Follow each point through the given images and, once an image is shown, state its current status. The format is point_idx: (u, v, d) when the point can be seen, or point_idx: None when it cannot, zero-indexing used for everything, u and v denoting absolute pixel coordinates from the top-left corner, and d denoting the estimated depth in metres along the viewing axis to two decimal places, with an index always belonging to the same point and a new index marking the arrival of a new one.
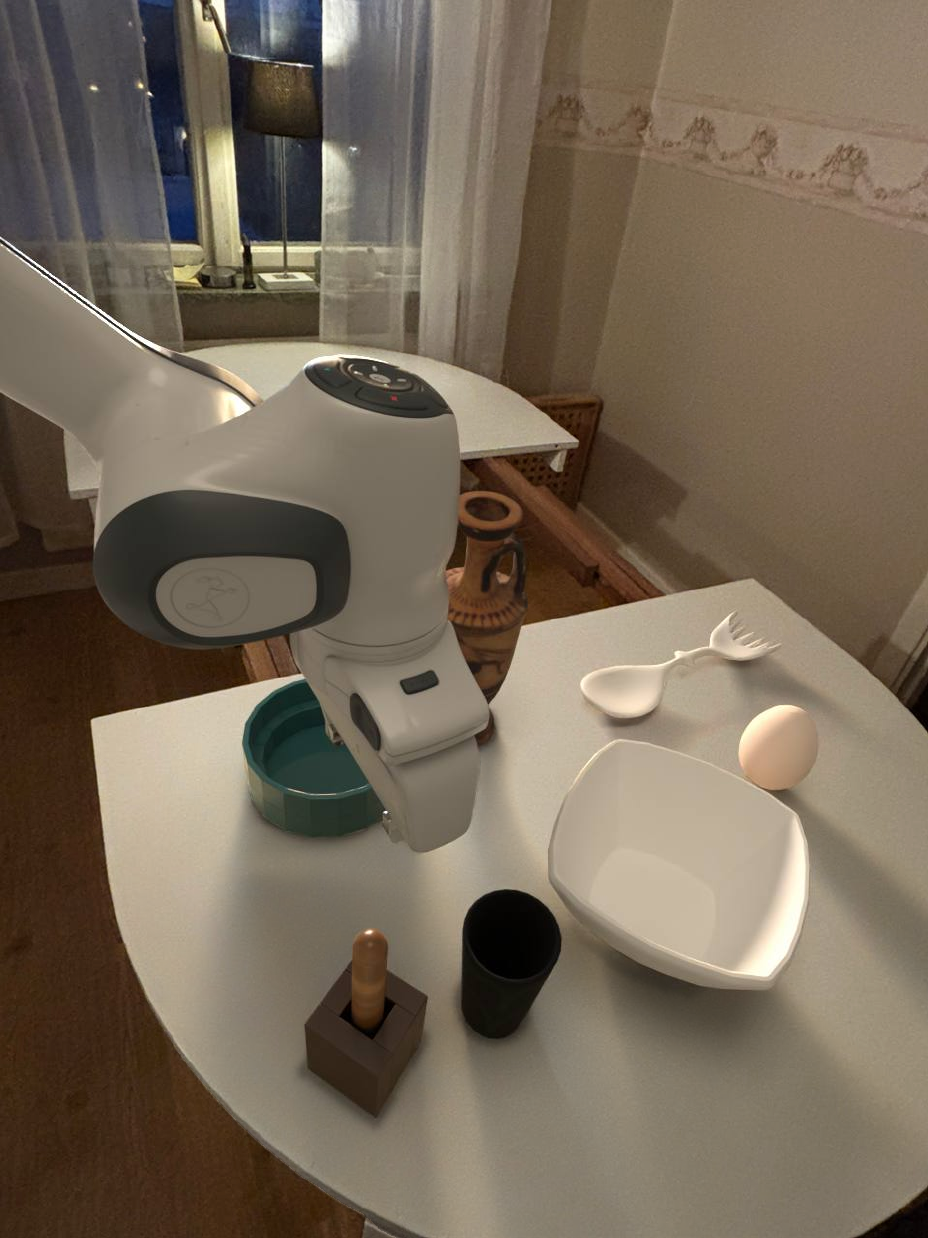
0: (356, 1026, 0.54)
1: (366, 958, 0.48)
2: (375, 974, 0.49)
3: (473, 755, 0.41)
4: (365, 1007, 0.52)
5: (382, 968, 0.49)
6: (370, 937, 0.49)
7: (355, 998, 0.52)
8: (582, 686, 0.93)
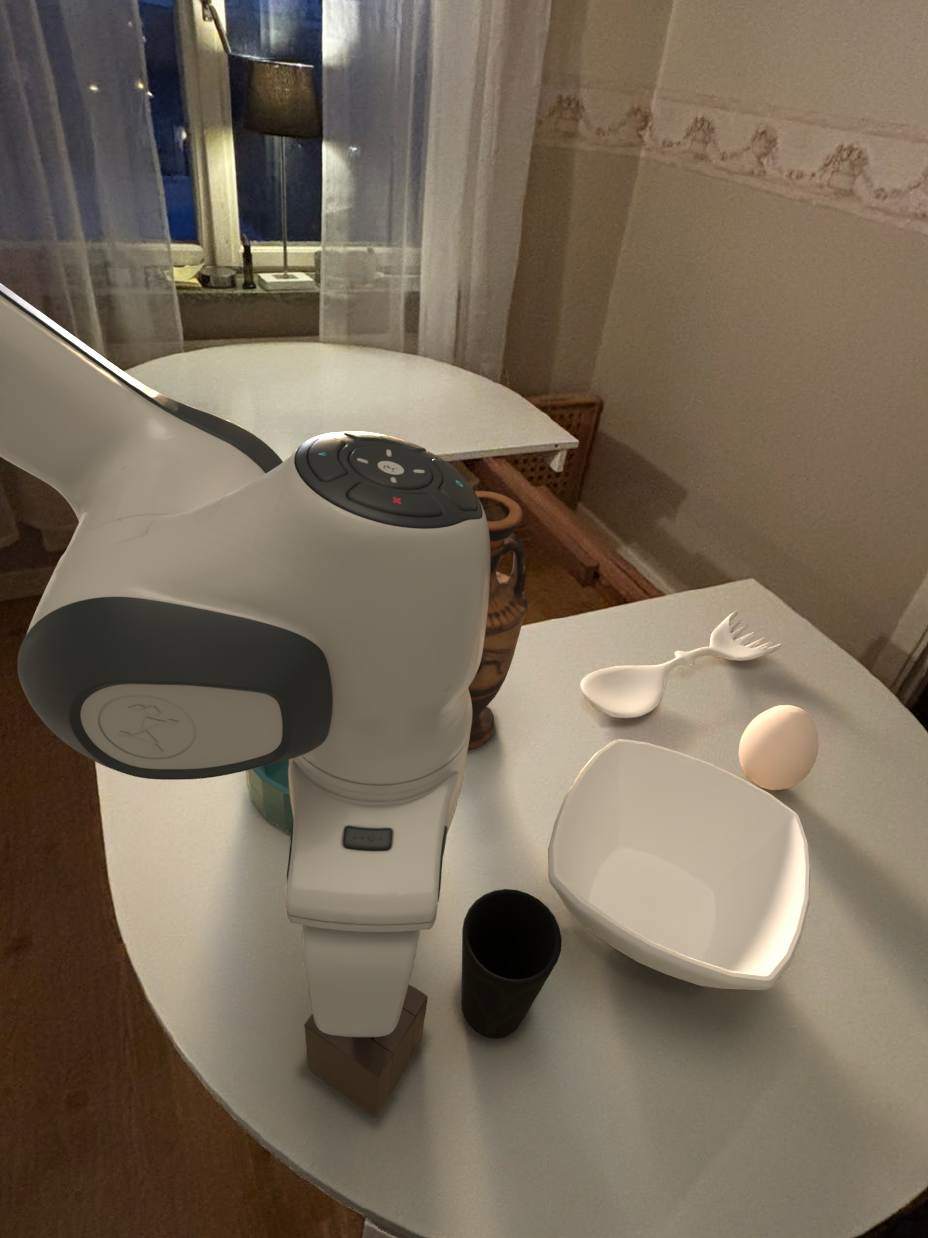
0: None
1: None
2: None
3: (404, 954, 0.32)
4: None
5: None
6: None
7: None
8: (582, 686, 0.93)
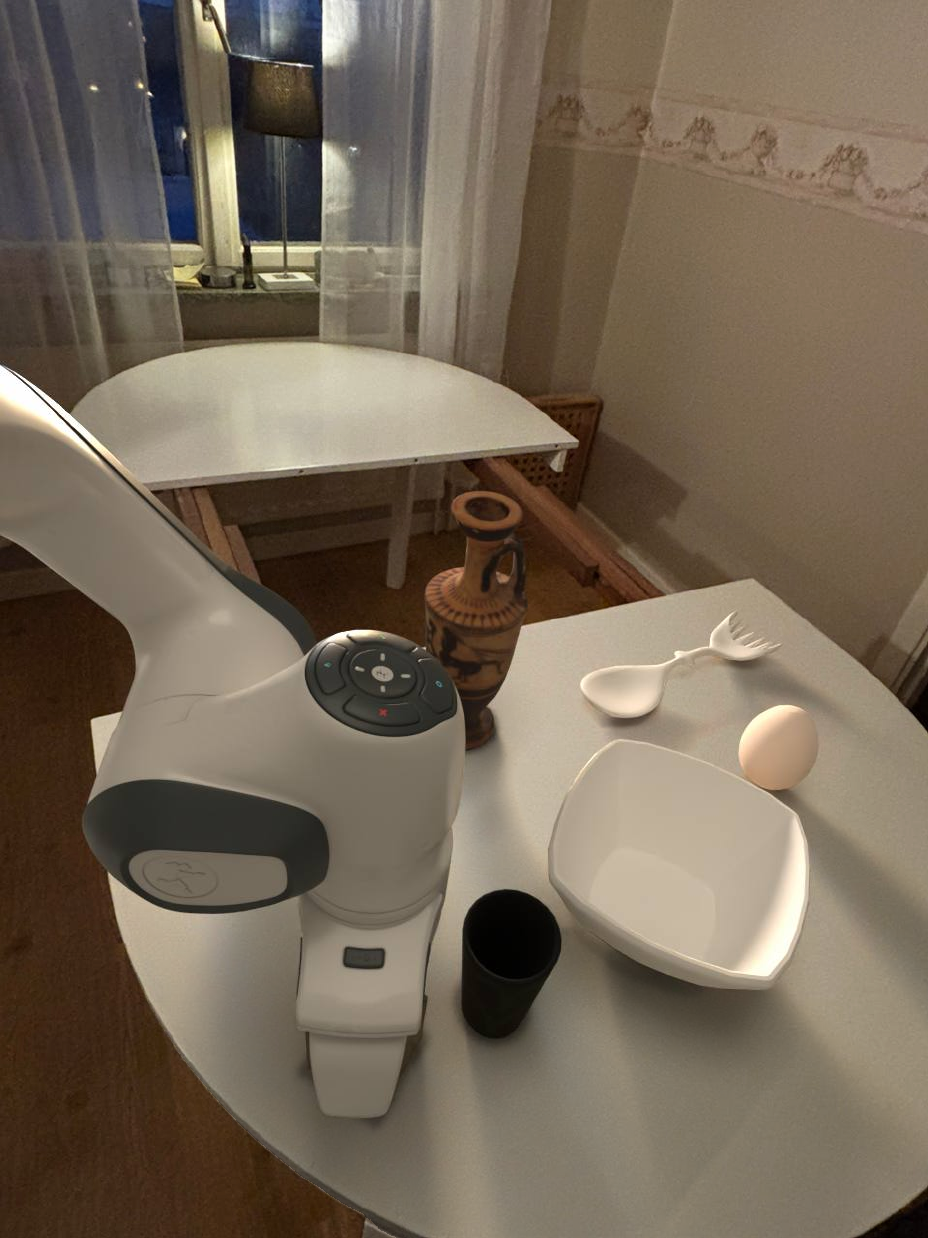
0: None
1: None
2: None
3: (394, 1055, 0.38)
4: None
5: None
6: None
7: None
8: (582, 686, 0.93)
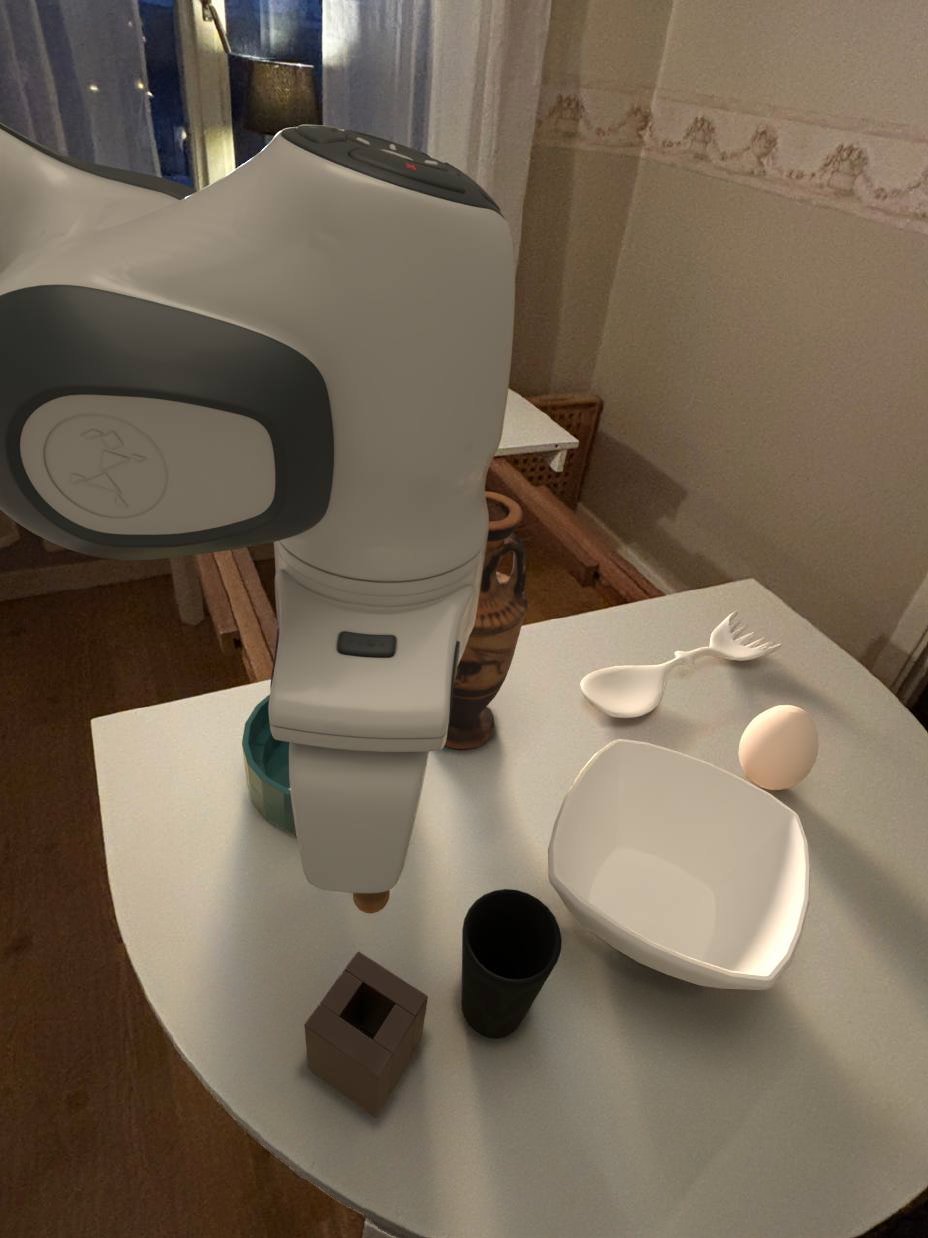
0: None
1: None
2: None
3: (408, 781, 0.27)
4: None
5: None
6: None
7: None
8: (582, 686, 0.93)
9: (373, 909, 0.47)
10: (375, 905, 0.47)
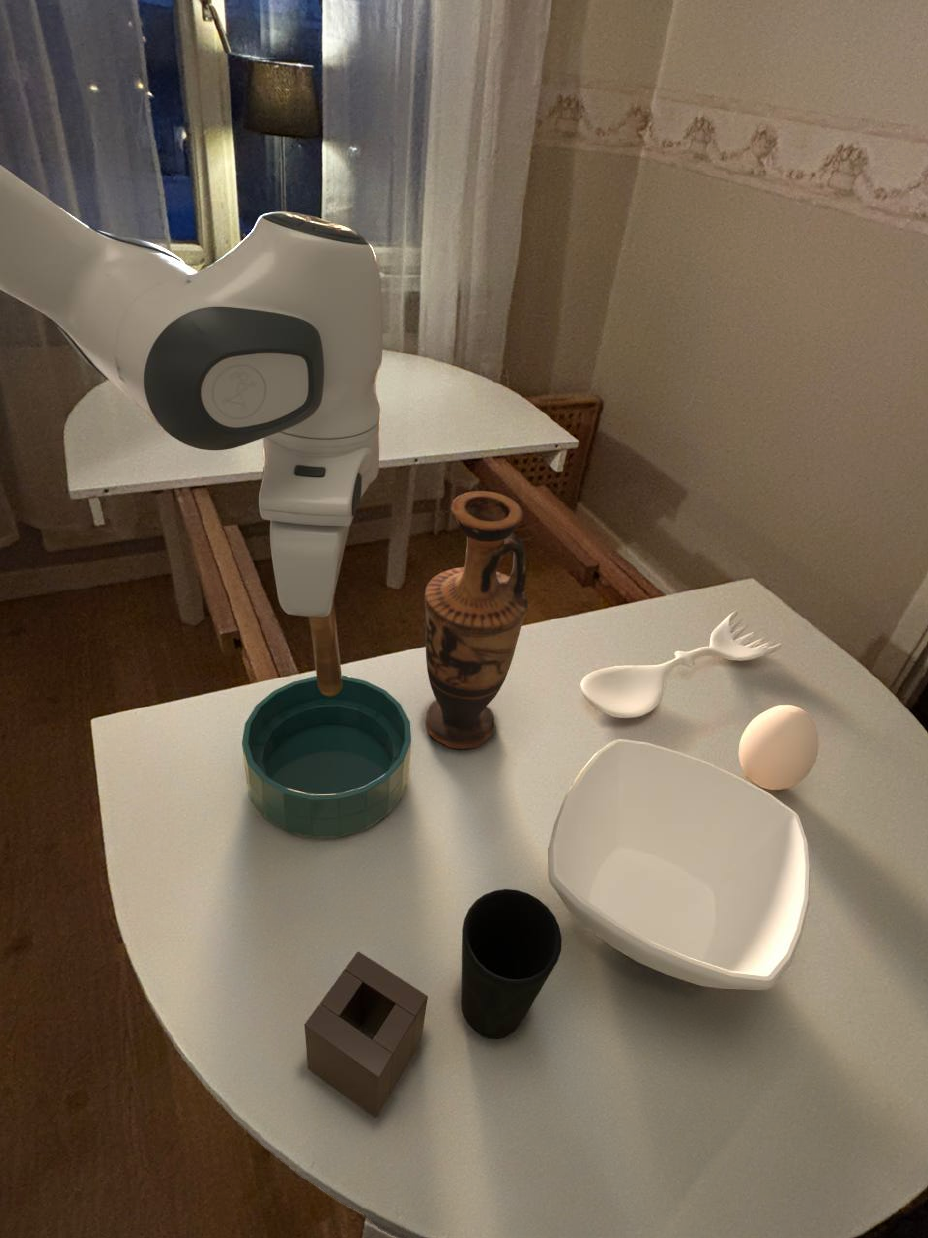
0: (315, 642, 0.68)
1: None
2: None
3: (332, 542, 0.52)
4: None
5: None
6: None
7: None
8: (582, 686, 0.93)
9: (331, 691, 0.72)
10: (332, 688, 0.72)
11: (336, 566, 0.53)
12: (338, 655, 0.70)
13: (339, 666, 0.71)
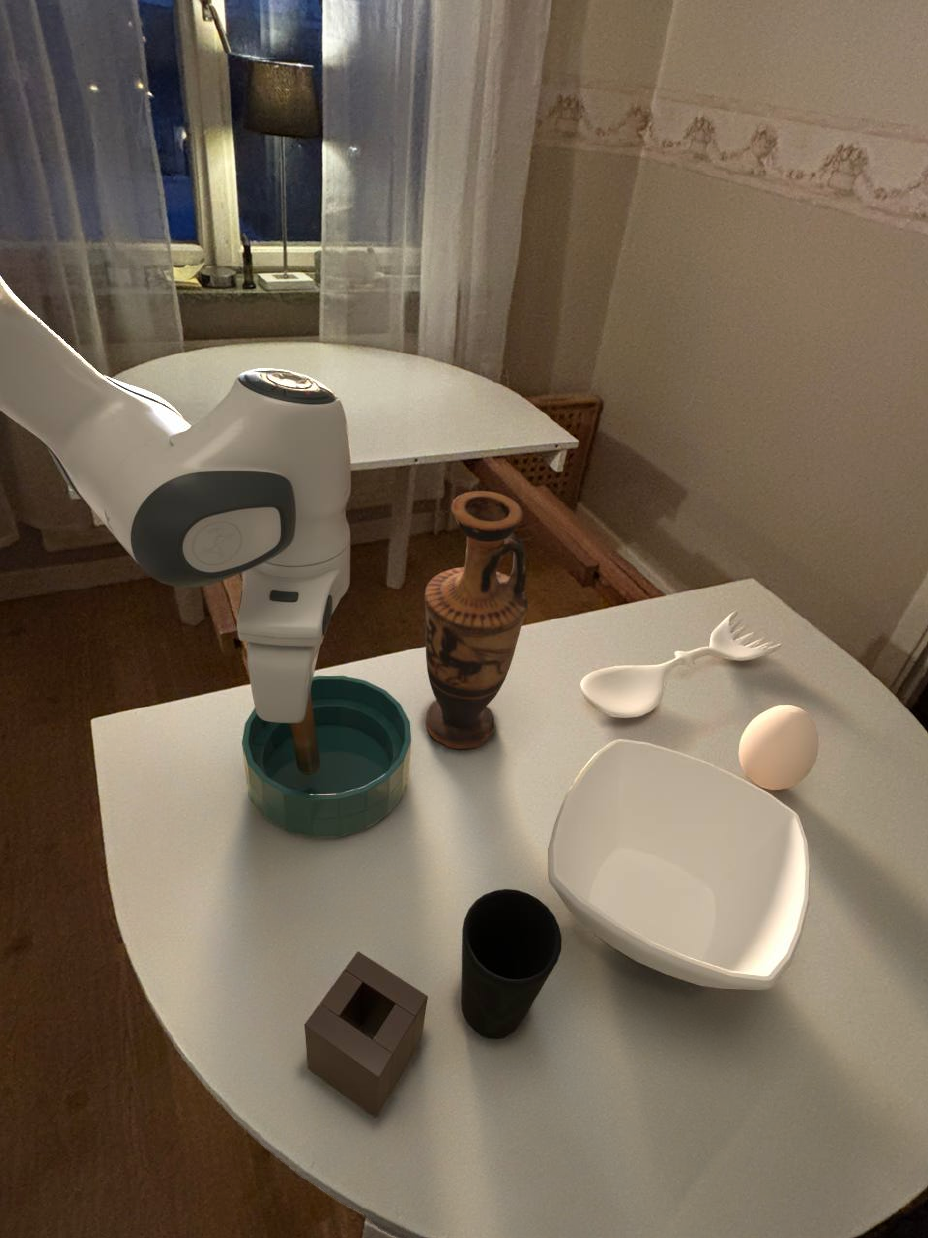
0: (293, 729, 0.73)
1: None
2: None
3: (304, 661, 0.57)
4: None
5: None
6: None
7: None
8: (582, 686, 0.93)
9: (309, 771, 0.77)
10: (310, 768, 0.76)
11: (308, 681, 0.58)
12: (315, 739, 0.75)
13: (316, 748, 0.76)
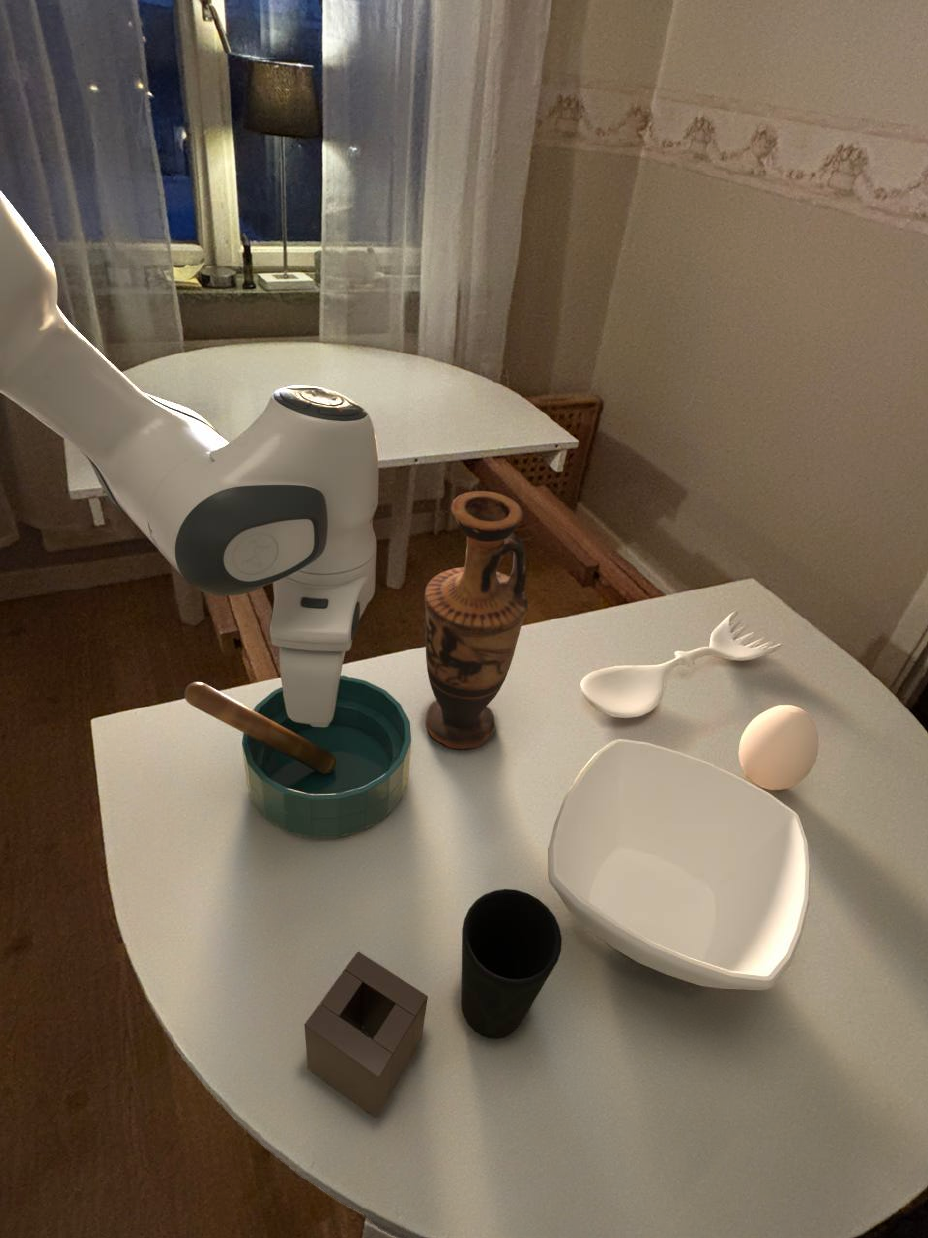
0: (273, 748, 0.77)
1: (189, 699, 0.71)
2: (209, 706, 0.72)
3: (333, 665, 0.59)
4: (246, 731, 0.74)
5: (211, 700, 0.72)
6: (187, 687, 0.71)
7: (238, 729, 0.74)
8: (582, 686, 0.93)
9: (324, 770, 0.79)
10: (322, 767, 0.79)
11: (337, 684, 0.60)
12: (302, 743, 0.77)
13: (312, 749, 0.78)
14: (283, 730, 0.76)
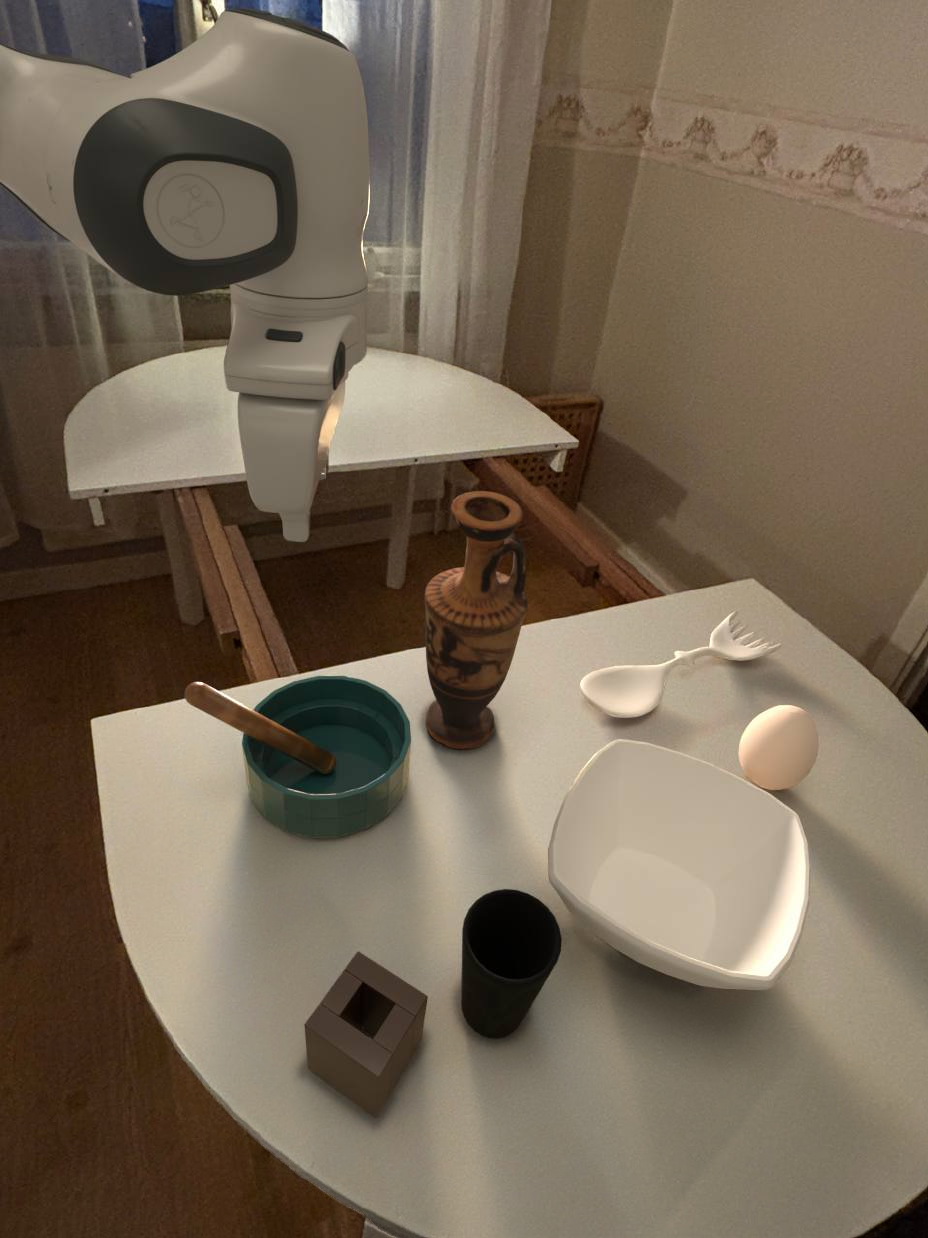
0: (273, 748, 0.77)
1: (189, 699, 0.71)
2: (209, 706, 0.72)
3: (310, 418, 0.44)
4: (246, 731, 0.74)
5: (211, 700, 0.72)
6: (187, 687, 0.71)
7: (238, 729, 0.74)
8: (582, 686, 0.93)
9: (324, 770, 0.79)
10: (322, 767, 0.79)
11: (315, 449, 0.45)
12: (302, 743, 0.77)
13: (312, 749, 0.78)
14: (283, 730, 0.76)
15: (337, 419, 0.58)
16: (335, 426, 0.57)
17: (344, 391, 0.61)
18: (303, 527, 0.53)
